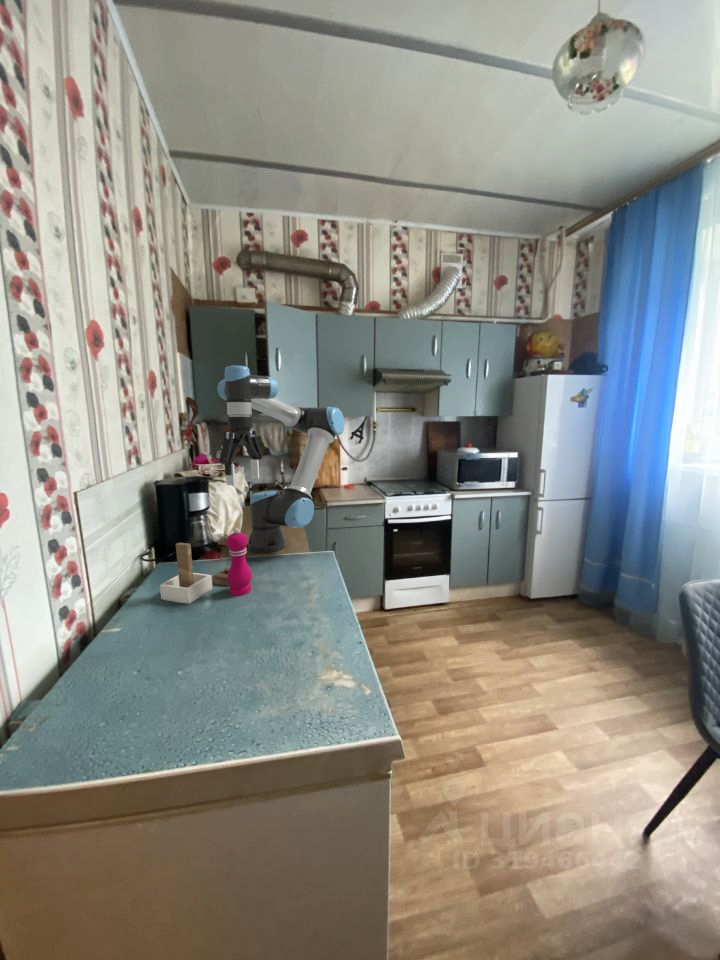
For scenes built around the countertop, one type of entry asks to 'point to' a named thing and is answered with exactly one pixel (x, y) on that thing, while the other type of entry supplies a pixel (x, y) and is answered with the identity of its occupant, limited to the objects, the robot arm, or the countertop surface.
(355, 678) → the countertop surface
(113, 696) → the countertop surface
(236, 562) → the pepper mill
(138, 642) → the countertop surface
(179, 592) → the white storage tray
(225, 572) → the holder
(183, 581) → the brown wooden block
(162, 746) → the countertop surface
